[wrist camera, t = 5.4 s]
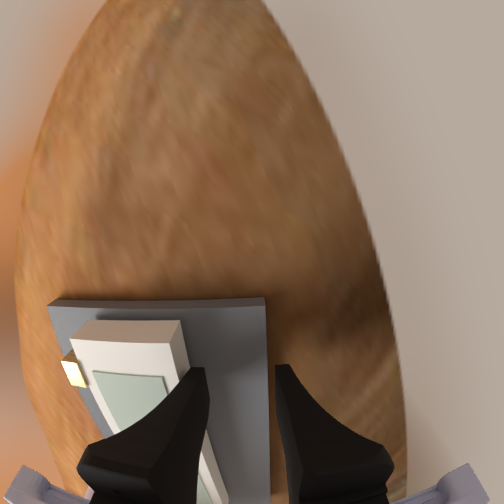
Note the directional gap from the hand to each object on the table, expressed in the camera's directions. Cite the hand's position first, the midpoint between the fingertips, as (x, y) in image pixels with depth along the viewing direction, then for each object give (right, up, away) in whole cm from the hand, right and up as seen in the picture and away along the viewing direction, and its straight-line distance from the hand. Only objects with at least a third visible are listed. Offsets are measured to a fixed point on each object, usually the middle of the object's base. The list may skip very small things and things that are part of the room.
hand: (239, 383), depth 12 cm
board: (-4, -7, +4) cm, 9 cm away
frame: (-5, -6, +2) cm, 8 cm away
